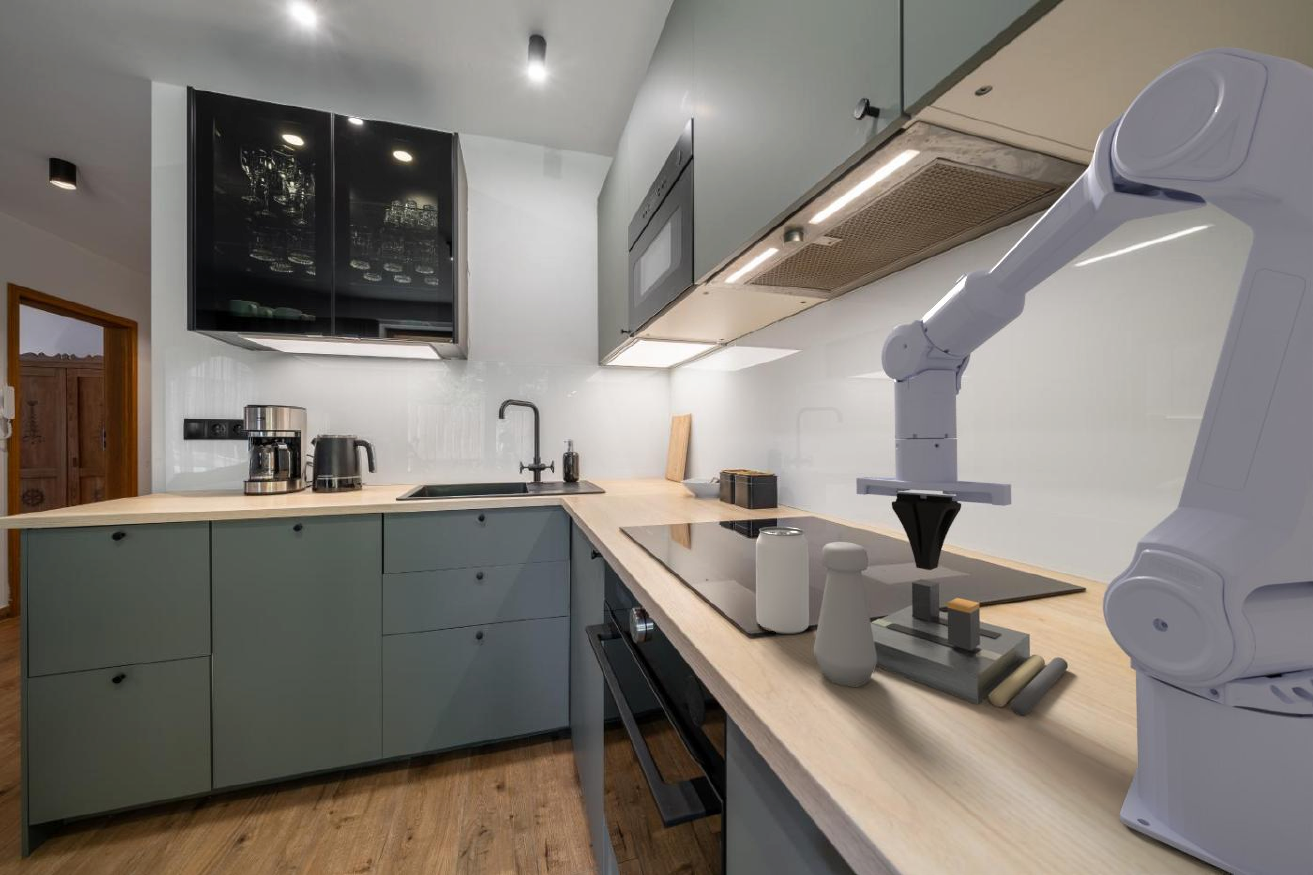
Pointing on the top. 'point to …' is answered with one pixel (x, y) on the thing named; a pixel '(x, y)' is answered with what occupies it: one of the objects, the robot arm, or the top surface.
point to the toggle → (963, 623)
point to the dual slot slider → (945, 648)
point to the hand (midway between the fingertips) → (927, 567)
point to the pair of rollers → (1033, 689)
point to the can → (782, 580)
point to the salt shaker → (845, 618)
